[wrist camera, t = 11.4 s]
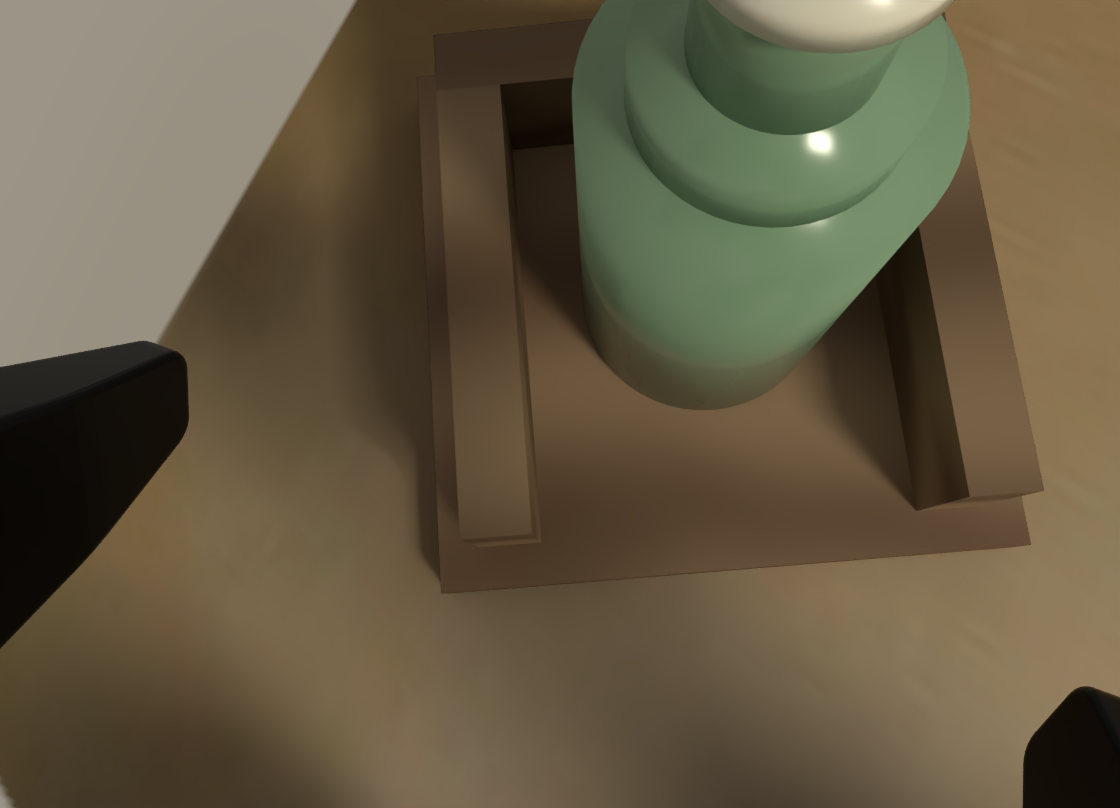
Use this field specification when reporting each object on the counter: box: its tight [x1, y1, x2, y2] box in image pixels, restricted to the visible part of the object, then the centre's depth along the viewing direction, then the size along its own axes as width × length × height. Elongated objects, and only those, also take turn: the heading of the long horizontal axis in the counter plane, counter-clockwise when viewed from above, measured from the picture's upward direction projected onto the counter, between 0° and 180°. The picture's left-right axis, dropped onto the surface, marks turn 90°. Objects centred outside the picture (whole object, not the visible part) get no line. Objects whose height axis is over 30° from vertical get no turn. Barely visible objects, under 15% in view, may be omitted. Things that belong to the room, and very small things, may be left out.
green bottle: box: [572, 0, 970, 410], centre depth 15 cm, size 6×6×13 cm
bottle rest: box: [417, 12, 1044, 593], centre depth 21 cm, size 14×14×4 cm
